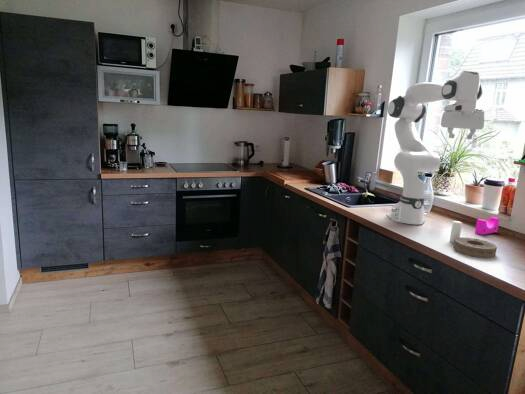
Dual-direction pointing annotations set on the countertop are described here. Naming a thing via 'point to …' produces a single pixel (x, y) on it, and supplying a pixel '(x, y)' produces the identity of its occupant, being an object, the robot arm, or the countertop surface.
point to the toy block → (487, 226)
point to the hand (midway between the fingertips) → (460, 138)
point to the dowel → (455, 230)
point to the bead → (475, 247)
